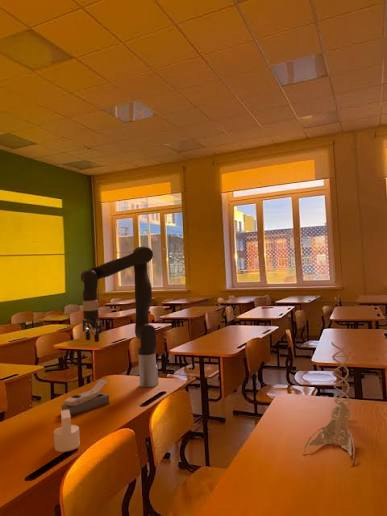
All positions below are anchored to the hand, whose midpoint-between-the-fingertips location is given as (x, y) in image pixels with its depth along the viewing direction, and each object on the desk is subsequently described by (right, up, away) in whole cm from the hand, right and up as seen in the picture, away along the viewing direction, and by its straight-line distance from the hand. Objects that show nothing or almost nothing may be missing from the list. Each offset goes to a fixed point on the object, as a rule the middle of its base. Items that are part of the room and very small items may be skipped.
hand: (92, 341), depth 209 cm
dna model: (+113, -22, -41) cm, 122 cm away
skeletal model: (+101, -23, -67) cm, 123 cm away
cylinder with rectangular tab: (+4, -28, -56) cm, 63 cm away
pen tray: (+1, -28, -17) cm, 33 cm away
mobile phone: (+1, -24, -17) cm, 30 cm away
